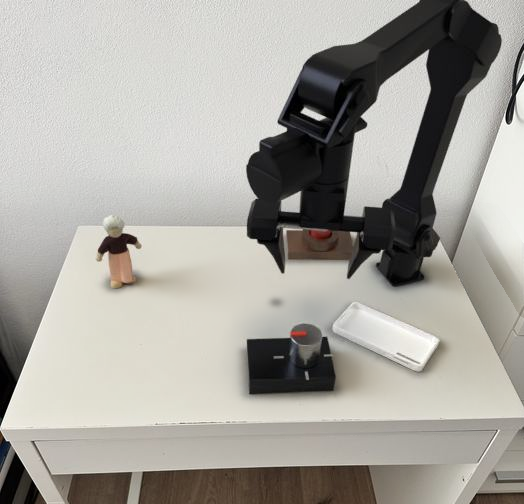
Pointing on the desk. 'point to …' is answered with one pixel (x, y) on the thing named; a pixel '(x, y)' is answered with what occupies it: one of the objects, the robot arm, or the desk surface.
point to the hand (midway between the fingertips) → (315, 274)
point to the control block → (318, 246)
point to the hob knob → (305, 345)
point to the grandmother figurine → (117, 251)
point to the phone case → (386, 335)
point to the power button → (320, 234)
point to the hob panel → (286, 368)
